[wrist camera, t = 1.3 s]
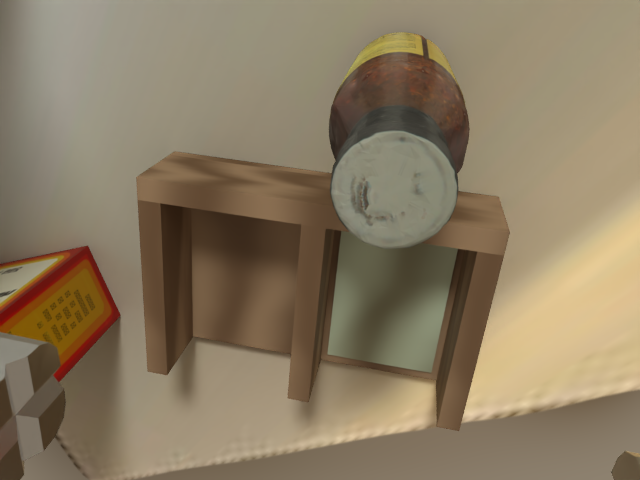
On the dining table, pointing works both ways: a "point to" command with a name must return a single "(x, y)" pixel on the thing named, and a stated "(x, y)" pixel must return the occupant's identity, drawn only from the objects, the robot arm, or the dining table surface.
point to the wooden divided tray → (311, 276)
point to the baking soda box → (57, 302)
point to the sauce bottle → (397, 142)
